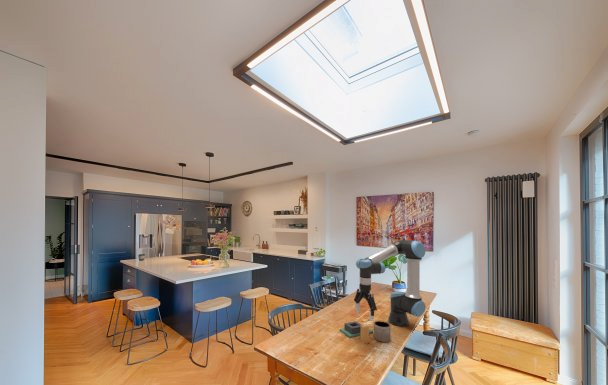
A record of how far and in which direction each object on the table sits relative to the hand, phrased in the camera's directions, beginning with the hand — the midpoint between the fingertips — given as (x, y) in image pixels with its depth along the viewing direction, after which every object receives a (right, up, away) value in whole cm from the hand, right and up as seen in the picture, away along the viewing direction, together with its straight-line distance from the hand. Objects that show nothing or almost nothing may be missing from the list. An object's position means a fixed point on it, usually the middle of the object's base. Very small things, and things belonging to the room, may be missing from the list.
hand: (364, 316), depth 168 cm
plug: (0, -16, -1) cm, 16 cm away
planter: (+13, -17, +4) cm, 21 cm away
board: (-3, -17, +13) cm, 21 cm away
